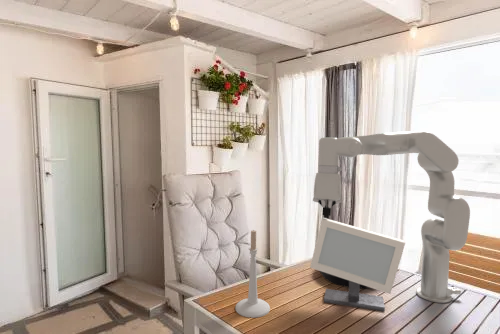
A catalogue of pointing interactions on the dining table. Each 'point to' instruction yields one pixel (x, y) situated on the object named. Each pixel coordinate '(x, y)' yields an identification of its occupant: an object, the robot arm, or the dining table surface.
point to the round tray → (338, 280)
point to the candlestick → (252, 289)
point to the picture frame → (357, 255)
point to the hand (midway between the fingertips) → (326, 217)
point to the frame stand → (354, 298)
